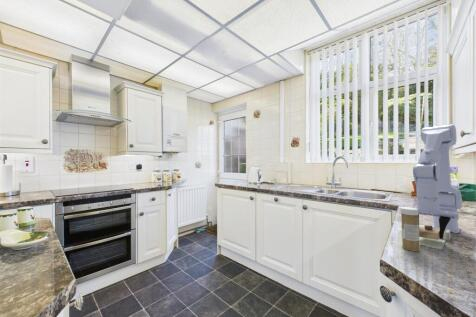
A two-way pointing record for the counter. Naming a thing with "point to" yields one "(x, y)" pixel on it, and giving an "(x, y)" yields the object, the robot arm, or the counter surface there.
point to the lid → (429, 232)
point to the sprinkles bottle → (410, 228)
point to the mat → (432, 243)
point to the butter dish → (445, 234)
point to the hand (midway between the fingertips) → (429, 235)
